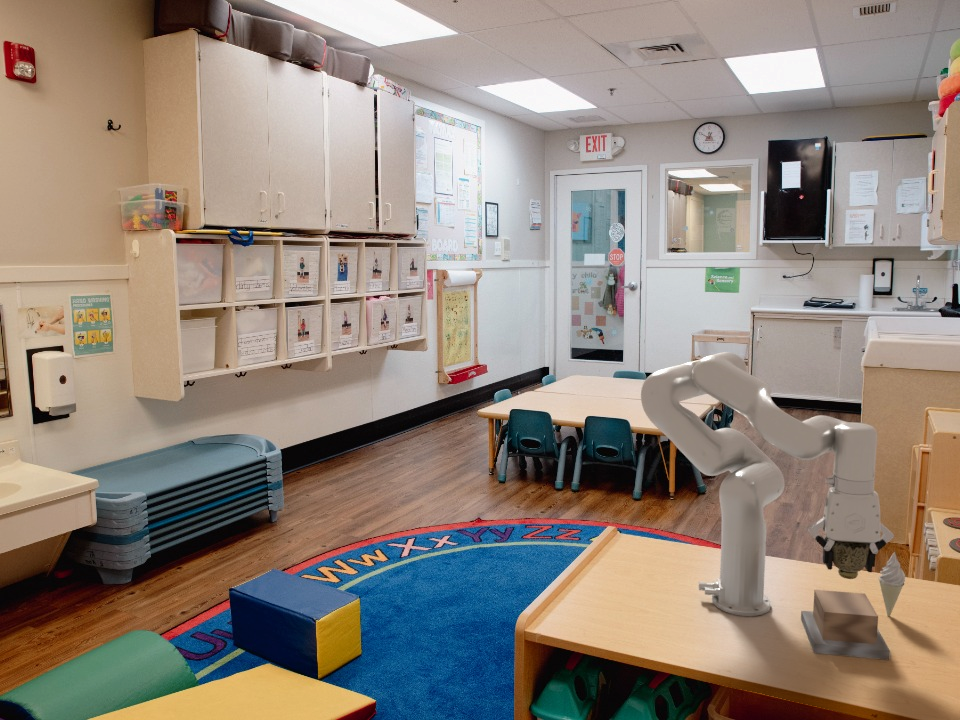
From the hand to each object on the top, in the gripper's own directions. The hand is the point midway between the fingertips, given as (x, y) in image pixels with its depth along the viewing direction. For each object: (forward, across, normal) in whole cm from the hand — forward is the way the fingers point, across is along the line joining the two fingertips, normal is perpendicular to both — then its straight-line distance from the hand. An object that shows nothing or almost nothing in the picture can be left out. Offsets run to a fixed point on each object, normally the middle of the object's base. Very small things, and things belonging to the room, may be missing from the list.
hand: (848, 567), depth 160 cm
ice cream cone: (+16, +12, +12) cm, 23 cm away
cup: (+2, 0, 0) cm, 2 cm away
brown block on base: (+16, 0, 0) cm, 16 cm away
